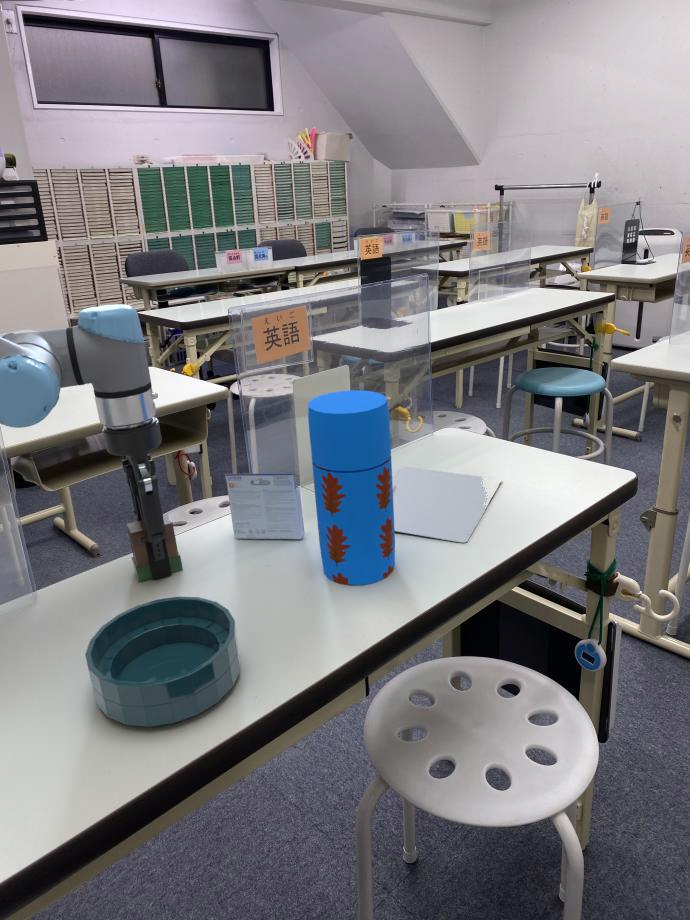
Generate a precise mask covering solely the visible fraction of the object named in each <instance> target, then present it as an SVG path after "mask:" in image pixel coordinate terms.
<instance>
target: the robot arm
mask: <svg viewBox="0 0 690 920" xmlns="http://www.w3.org/2000/svg"><path fill="white" fill-rule="evenodd" d="M77 320H78V321H77V324H76V325H73V326H71V327H70V326H69V327H65V328H56V329H54V328H53V329H44V330H37V331H26V332H18V333H14V332H7V333H5V334H3V335H0V425H3V426H5V427H9V428H15V429H22V428H29V427H32V426H34V425H37V424H39V423H40V422H42V421H44V420H45V419H46V418H47V417H48V416H49V414H50V413H51V412H52V410H53V409H54V408H56V405H57V403H58V402H59V400H60V393H61V389H63V388H69V387H77V386H84V385H88V384H91V385H92V389H93V397H94V401H95V405H96V412H97V416H98V420H99V423H100V424H101V425H103V426H102V428H101V431H102V436H103V441H104V446H105V450H106V452H107V453H109V454H110V455H112V456H117V457H121V459H122V460H121V466H122V470H123V472H124V473H125V479H126V482H127V485H128V487H129V492H130V496H131V501H132V506H133V514H134V515H135V517H136V521H140V520H142V522H143V526H144V531H145V537H142V538H141V542H142V543H144V542H145V544H146V549H147V553H148V558H149V563H150V568H151V573H152V578H153V579H152V580H153V581H155V580H158V579H161V578H165V577H169V576H172V574H173V573H171V568H170V562H169V557H168V552H167V546H166V541H165V538H167V533H166V531H165V525H164V520H163V515H164V513H163V510H162V504H161V498H160V492H159V486H158V485H159V483H158V482H159V479H158V477H157V476H156V472H157V468H156V464H155V461H154V459H152V457H151V455H150V453H149V452H151V451H152V450H155V449H158V447H160V445H161V444H162V441H163V440H162V432H161V427H160V423H159V422H160V421H159V419H158V418H157V417H156V415H157V408H156V403H155V401H154V400H156V399H158V398H159V395H158V392H157V391H153V388H152V387H153V386H152V379H151V374H150V368H149V362H148V361H149V360H148V356H147V349H146V343H145V338H144V335H143V329H142V327H141V321H140V317H139V313H138V311H137V310H136V309H135V308H134V307H133V306H131V305H129V304H120V303H119V304H103V305H99V306H91V307H86V308H84V309H82V310H80V311H79V312H78V314H77Z"/></svg>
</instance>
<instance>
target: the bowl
mask: <svg viewBox="0 0 690 920" xmlns="http://www.w3.org/2000/svg"><path fill="white" fill-rule="evenodd" d="M85 661H86V664H87V665H86V666H87V670H88V673H89V677H90V682H91V685H92V689H93V694H94V697H95V701H96V705H97V707H98V708H99V710H100V711H102V712H103V714H105V716H106V717H107V718H108V719H111V720H113V721H116V722H118V723H120V724H124V725H126V726H136V727H137V726H138V727H151V728H152V727H156V726H162V725H170V724H175V723H178V722H180V721H184V720H186V719H189V718H192V717H195V716H197V715H200V714H201V713H203V712H204V711H206V710H208V709H209V708H211V707H212V706H214V705H215V704H217V703H218V702H220V701H221V699H223V698H224V696H225V695H226V694H227V693H228V692H229V691H230V690H231V689H232V688H233V687H234V685H235V683H236V681H237V679H238V676H239V675H240V672H241V652H240V645H239V639H238V633H237V626H236V620H235V618H234V616H233V615H232V613H231V612H230V610H229V609H228V608H226V607H225V606H224V605H222V604H221V603H219V602H218V601H215V600H211V599H207V598H205V597H200V596H172V597H166V598H159V599H155V600H152V601H147V602H144V603H141V604H138V605H135V606H133V607H132V608H129V609H127V610H125V611H123V612H121V613H119V614H117V615H115V616H114V617H113V618H112V619H110V620H109V621H107V622H106V623H104V624H103V625H102V626H101V627H100V628H99V629H98V631H96V632H95V634H94V635H93V636H92V638H91V639H90V640H89V643H88V646H87V649H86V652H85Z"/></svg>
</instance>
